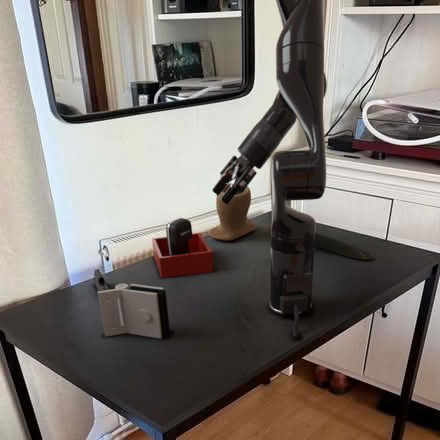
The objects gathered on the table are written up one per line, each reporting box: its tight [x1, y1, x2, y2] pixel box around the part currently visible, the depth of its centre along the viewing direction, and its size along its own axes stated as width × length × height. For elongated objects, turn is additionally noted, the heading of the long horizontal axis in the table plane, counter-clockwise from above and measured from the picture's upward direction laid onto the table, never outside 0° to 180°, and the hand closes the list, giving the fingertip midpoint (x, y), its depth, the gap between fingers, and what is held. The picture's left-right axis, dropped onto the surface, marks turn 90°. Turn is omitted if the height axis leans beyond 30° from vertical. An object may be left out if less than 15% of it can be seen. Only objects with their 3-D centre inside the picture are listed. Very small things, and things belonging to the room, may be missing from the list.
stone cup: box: [208, 182, 257, 242], centre depth 164 cm, size 15×12×15 cm
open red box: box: [151, 232, 214, 279], centre depth 150 cm, size 16×14×5 cm
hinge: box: [97, 283, 171, 340], centre depth 118 cm, size 14×5×10 cm, turn 81°
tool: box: [314, 232, 373, 261], centre depth 153 cm, size 28×6×7 cm, turn 47°
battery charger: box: [165, 217, 193, 256], centre depth 148 cm, size 7×4×11 cm, turn 143°
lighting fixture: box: [93, 268, 110, 302], centre depth 134 cm, size 19×3×4 cm, turn 22°
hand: (219, 197), depth 144 cm, fingers open, 8 cm apart
